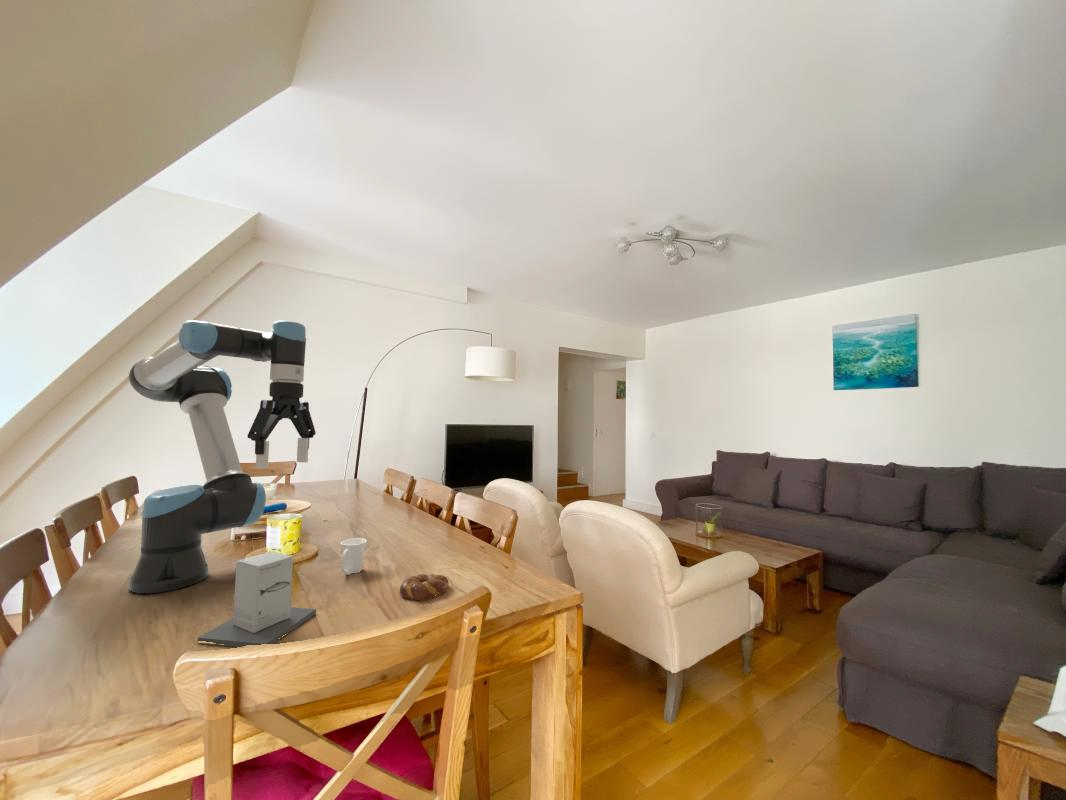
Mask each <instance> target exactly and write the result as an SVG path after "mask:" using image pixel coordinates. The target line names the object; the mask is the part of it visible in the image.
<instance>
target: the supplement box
mask: <svg viewBox="0 0 1066 800" xmlns="http://www.w3.org/2000/svg"><path fill="white" fill-rule="evenodd" d="M293 560H294V556H293V555H290V554H285V553H282V552H276V551H272V550H271V551H268V552H265V553H262V554H258V555H253V556H251V557H246V558H243V559H240V560H236V562H235V584H234V600H233V601H234V603H233V604H234V605H233V618H234V621H233V625H235V626H238V627H240V628H242V629H245V630H247V631H250V632H252V633H256V632H258V631H260V630H262V629H264V628H266V627H269V626H271V625H273V624H276V623H278V622H281V621H283V620H286V619H289V618H290V615H291V607H292V591H293V590H292V588H293V563H294V561H293Z"/></svg>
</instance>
